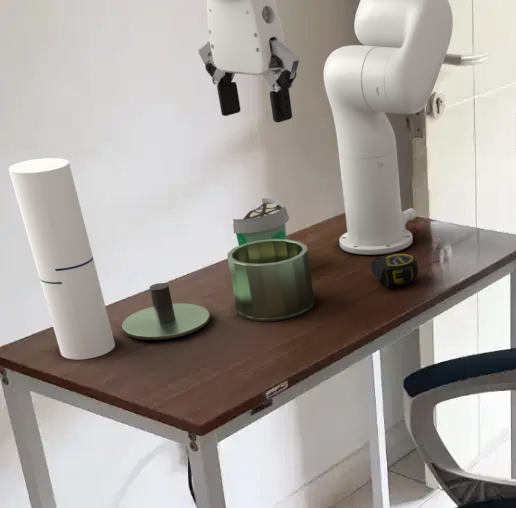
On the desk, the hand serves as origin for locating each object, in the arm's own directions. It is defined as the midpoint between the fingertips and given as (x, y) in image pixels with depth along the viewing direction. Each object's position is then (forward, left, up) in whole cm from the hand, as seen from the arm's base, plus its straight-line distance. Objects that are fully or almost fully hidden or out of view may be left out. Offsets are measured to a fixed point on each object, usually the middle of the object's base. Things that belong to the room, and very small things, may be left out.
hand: (256, 117), depth 140 cm
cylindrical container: (+28, -11, -26) cm, 40 cm away
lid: (+17, -7, -26) cm, 32 cm away
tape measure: (-12, +12, -26) cm, 31 cm away
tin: (+4, +2, -26) cm, 27 cm away
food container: (-8, -9, -26) cm, 29 cm away
